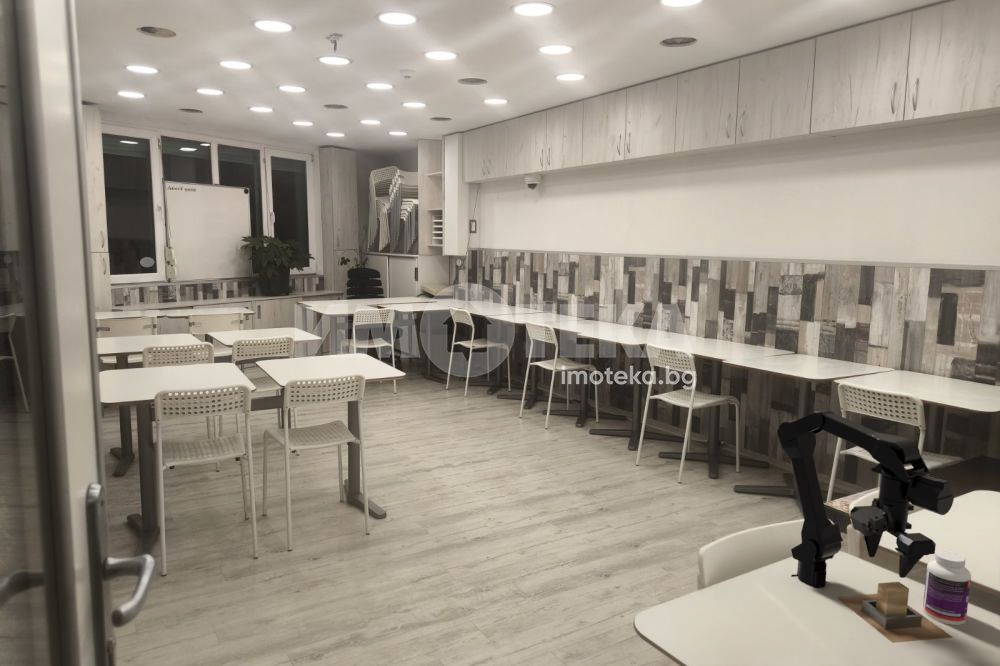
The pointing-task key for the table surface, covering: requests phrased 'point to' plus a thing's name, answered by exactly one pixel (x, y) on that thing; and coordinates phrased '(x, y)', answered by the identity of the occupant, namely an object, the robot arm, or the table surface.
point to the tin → (893, 622)
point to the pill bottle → (947, 588)
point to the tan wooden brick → (892, 599)
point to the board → (895, 635)
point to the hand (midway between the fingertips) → (886, 566)
